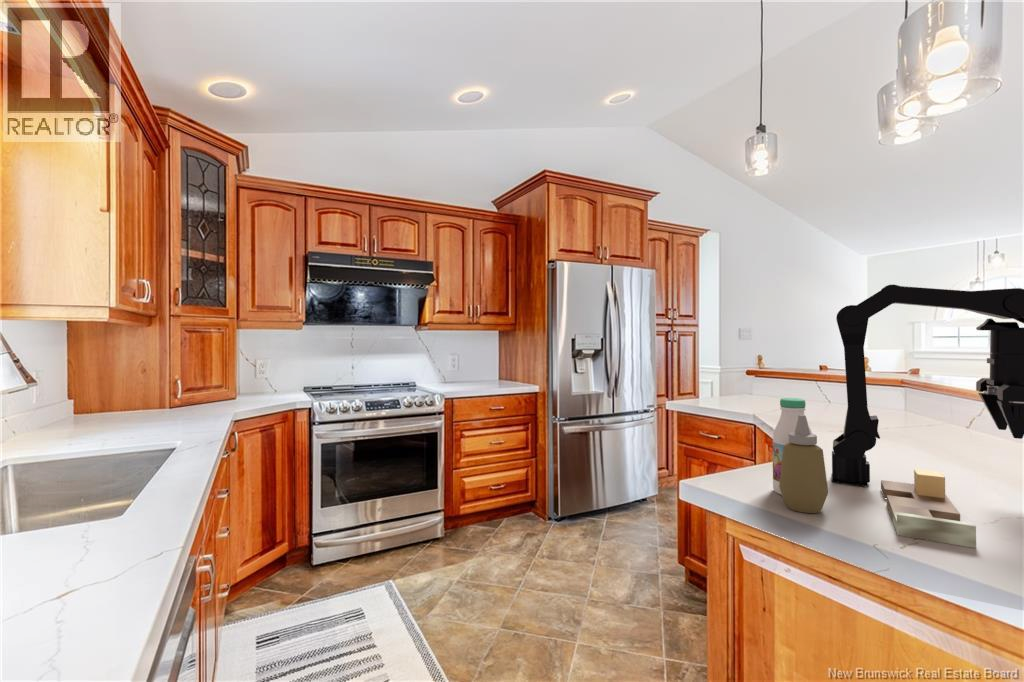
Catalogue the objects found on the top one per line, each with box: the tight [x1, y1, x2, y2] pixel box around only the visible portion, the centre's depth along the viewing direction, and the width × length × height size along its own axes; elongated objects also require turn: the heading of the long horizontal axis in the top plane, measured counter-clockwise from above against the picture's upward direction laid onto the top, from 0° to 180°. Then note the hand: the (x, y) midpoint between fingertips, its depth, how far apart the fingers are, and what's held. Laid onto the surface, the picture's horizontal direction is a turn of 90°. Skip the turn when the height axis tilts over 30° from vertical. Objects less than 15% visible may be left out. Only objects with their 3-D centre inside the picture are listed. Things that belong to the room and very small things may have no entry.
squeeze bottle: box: [779, 414, 829, 514], centre depth 91 cm, size 8×8×18 cm
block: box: [913, 469, 946, 498], centre depth 92 cm, size 4×4×4 cm
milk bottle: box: [772, 397, 813, 496], centre depth 99 cm, size 8×8×20 cm
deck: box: [880, 479, 977, 549], centre depth 87 cm, size 10×27×3 cm, turn 146°
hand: (1009, 433), depth 92 cm, fingers open, 9 cm apart
